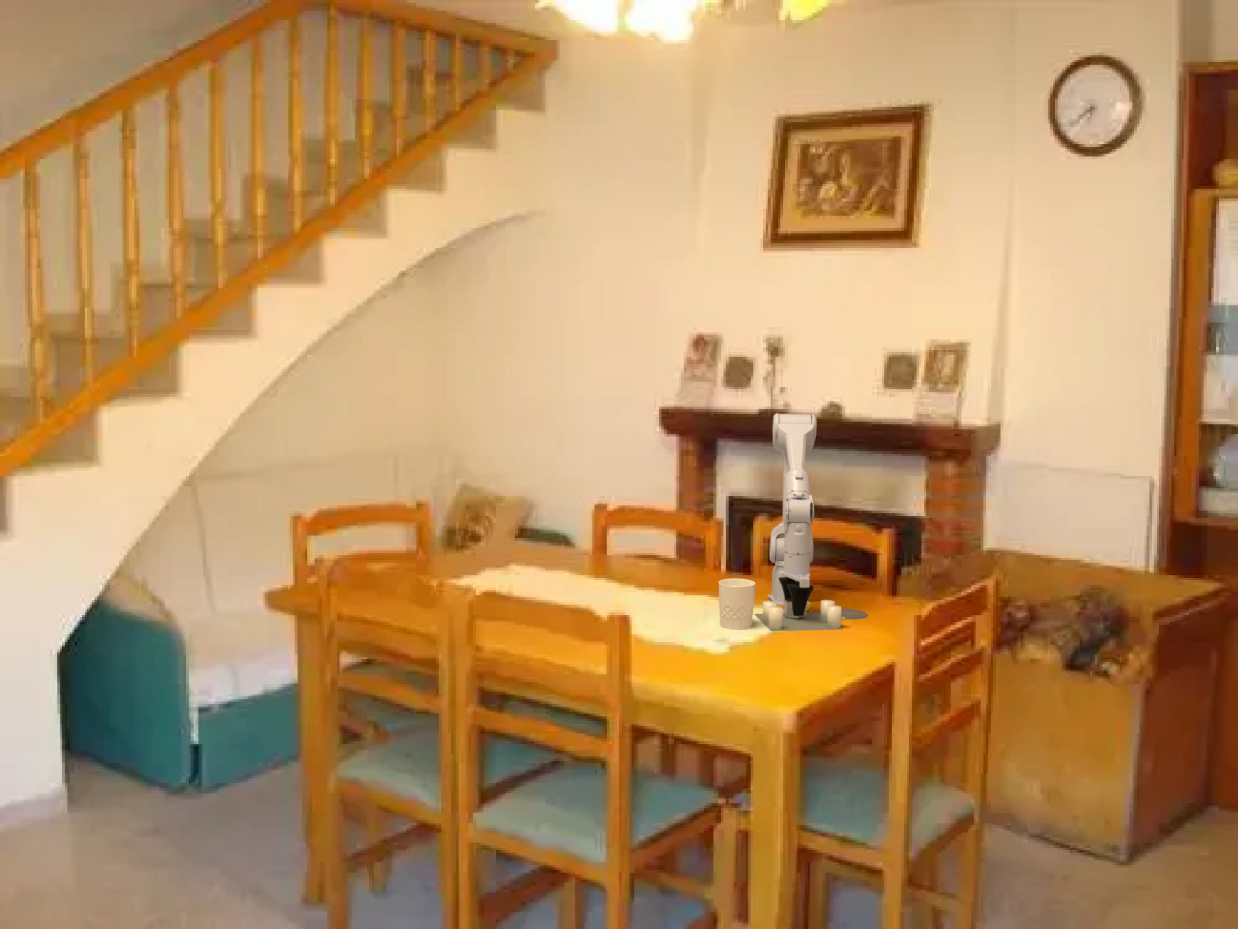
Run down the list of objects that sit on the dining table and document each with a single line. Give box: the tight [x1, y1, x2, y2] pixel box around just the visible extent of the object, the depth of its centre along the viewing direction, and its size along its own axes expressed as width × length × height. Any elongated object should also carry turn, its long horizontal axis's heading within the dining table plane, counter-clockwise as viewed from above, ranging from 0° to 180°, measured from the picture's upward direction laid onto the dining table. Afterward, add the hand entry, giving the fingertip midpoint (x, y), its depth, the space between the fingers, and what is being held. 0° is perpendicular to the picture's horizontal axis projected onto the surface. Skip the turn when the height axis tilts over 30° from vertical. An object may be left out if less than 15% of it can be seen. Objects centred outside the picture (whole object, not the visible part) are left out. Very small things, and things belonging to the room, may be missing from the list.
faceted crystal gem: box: [783, 598, 808, 618], centre depth 314 cm, size 5×4×4 cm
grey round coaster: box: [841, 608, 868, 620], centre depth 317 cm, size 9×9×1 cm
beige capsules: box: [762, 599, 842, 630], centre depth 307 cm, size 8×16×4 cm, turn 98°
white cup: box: [718, 578, 756, 631], centre depth 305 cm, size 8×8×10 cm
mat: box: [753, 612, 844, 632], centre depth 310 cm, size 15×16×1 cm
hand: (794, 612), depth 314 cm, fingers closed on faceted crystal gem, 5 cm apart
